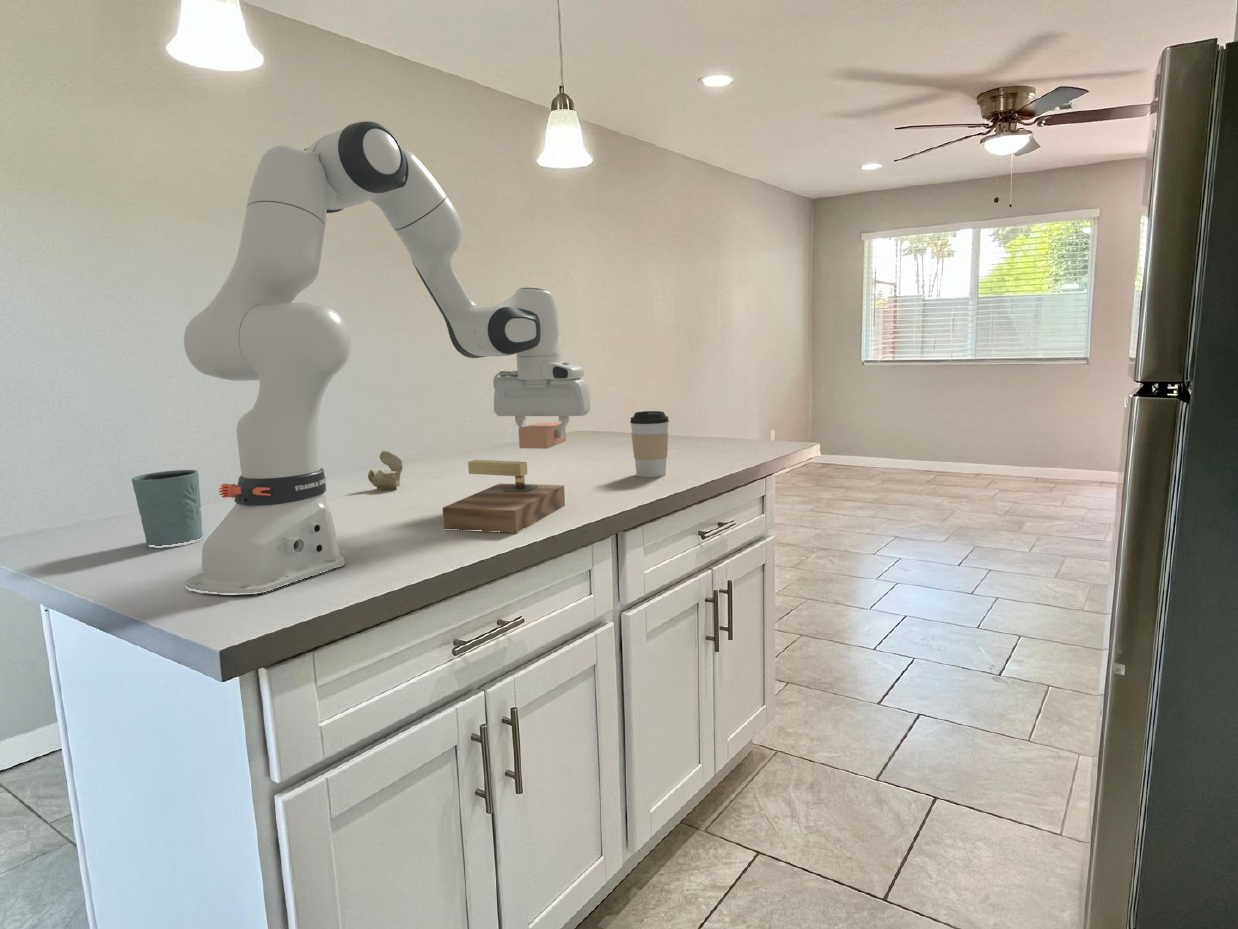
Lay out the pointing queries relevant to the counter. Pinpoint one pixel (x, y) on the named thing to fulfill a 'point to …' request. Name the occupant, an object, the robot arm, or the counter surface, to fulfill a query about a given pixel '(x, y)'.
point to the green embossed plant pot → (169, 506)
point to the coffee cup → (650, 443)
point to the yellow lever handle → (500, 469)
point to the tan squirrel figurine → (387, 472)
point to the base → (504, 507)
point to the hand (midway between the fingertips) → (543, 437)
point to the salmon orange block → (540, 435)
